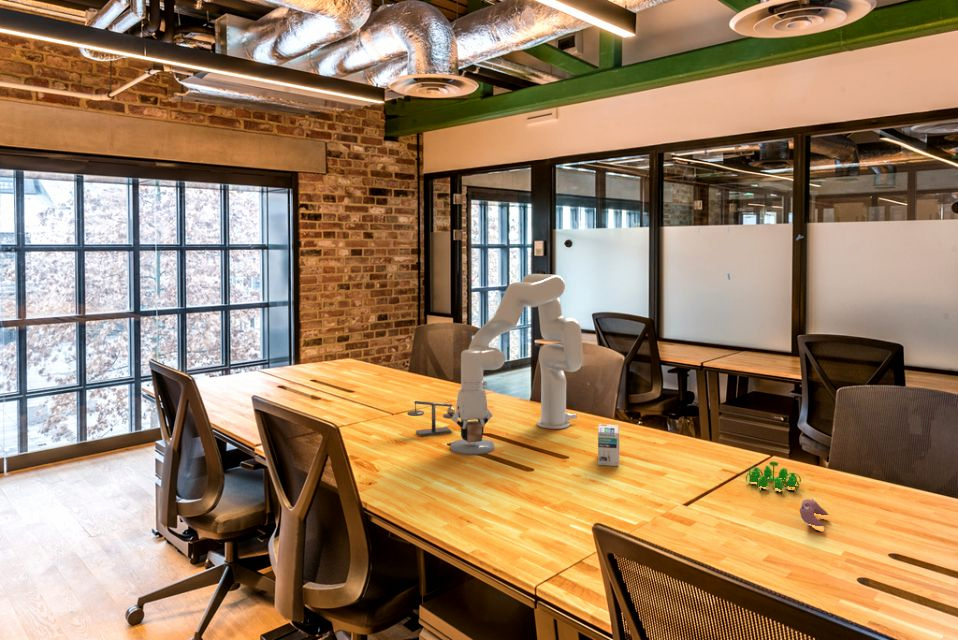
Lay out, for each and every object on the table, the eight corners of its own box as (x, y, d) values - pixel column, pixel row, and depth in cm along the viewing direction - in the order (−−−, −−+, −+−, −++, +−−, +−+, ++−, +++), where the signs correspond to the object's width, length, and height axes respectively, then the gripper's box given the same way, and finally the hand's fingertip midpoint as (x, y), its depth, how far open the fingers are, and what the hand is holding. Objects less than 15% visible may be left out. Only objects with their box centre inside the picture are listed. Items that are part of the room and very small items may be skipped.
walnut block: (476, 437, 233) (476, 420, 233) (481, 441, 229) (481, 423, 228) (462, 439, 231) (462, 421, 231) (468, 442, 227) (468, 425, 226)
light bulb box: (619, 466, 211) (619, 433, 210) (597, 465, 212) (597, 432, 211) (618, 456, 221) (619, 424, 220) (598, 455, 222) (598, 423, 221)
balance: (455, 428, 256) (455, 395, 254) (461, 432, 250) (461, 398, 249) (405, 433, 248) (405, 400, 247) (410, 438, 243) (410, 403, 241)
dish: (483, 439, 240) (483, 436, 240) (501, 451, 227) (501, 448, 226) (444, 444, 234) (444, 441, 234) (459, 457, 221) (459, 453, 221)
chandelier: (752, 494, 188) (753, 470, 187) (739, 476, 202) (740, 454, 202) (809, 497, 186) (810, 472, 185) (791, 478, 200) (792, 456, 200)
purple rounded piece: (812, 522, 172) (800, 496, 173) (831, 518, 169) (818, 492, 170) (806, 536, 163) (793, 509, 164) (826, 532, 161) (812, 504, 162)
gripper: (490, 382, 235) (490, 433, 237) (444, 386, 228) (445, 438, 230) (499, 386, 228) (499, 438, 230) (452, 390, 221) (452, 444, 223)
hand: (472, 437), depth 230 cm, fingers closed on walnut block, 5 cm apart
